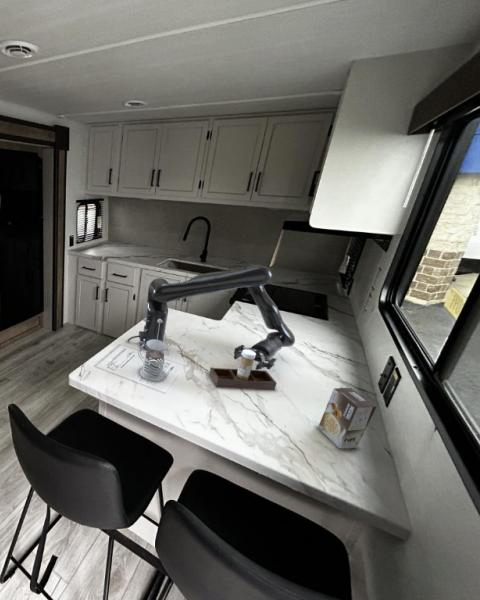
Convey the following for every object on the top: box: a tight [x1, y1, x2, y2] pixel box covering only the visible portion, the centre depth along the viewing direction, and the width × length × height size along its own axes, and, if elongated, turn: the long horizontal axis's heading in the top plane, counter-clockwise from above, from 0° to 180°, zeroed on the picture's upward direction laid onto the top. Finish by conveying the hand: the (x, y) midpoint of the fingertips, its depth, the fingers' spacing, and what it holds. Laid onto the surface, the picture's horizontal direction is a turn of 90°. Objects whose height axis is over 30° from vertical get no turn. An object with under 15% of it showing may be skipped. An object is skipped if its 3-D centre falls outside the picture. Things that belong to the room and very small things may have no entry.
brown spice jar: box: [236, 348, 256, 380], centre depth 124 cm, size 5×5×13 cm
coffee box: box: [317, 387, 377, 450], centre depth 99 cm, size 9×6×16 cm
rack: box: [208, 367, 278, 391], centre depth 126 cm, size 8×23×4 cm, turn 88°
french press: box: [137, 319, 168, 382], centre depth 126 cm, size 10×12×25 cm
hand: (245, 362), depth 123 cm, fingers open, 8 cm apart
